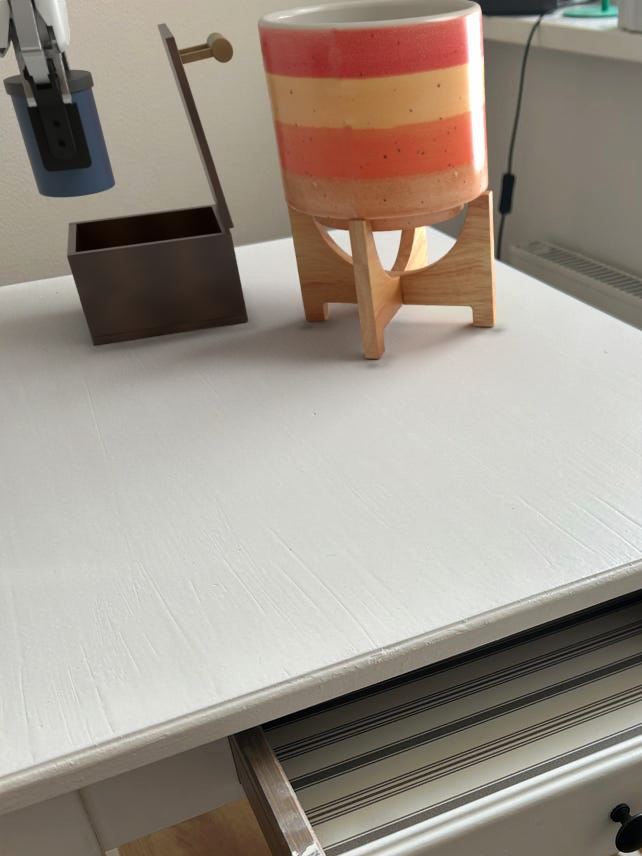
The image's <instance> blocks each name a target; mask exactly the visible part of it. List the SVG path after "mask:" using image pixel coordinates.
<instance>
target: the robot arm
mask: <svg viewBox="0 0 642 856" xmlns="http://www.w3.org/2000/svg"><path fill="white" fill-rule="evenodd" d="M69 22H70V21H69V14H68V8H67V1H66V0H0V59H2V58H5V56H6V54H7V53H8V51H9V49H10V47H11V43H12V47H13V51H14V57H15V60H16V63H17V67H18V71H19V75H21V79H22V83H23V87H24V90H25V94H26V98H27V102H28V105H29V106H27V110H28V114H29V117H30V121H31V124H32V128H33V131H34V135H35V138H36V142H37V145H38V149H39V152H40V156H41V159H42V163H43V166H44V168H45V169H46V170H47V171H49V172H54V171H63V170H73V169H83V168H89V167H90V166H91V164H92V159H91V155H90V152H89V148H88V144H87V140H86V136H85V132H84V128H83V124H82V121H81V117H80V113H79V109H78V105H77V102H72V99H71V94H70V90H69V86H68V82H67V78H66V74H65V70H71V67H70V63H69V59H68V56H67V52H66V50H67V49H68V47H69V45H70V43H71V30H70V23H69ZM57 79H58V81H57ZM58 83H59V84H58Z"/></svg>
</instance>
